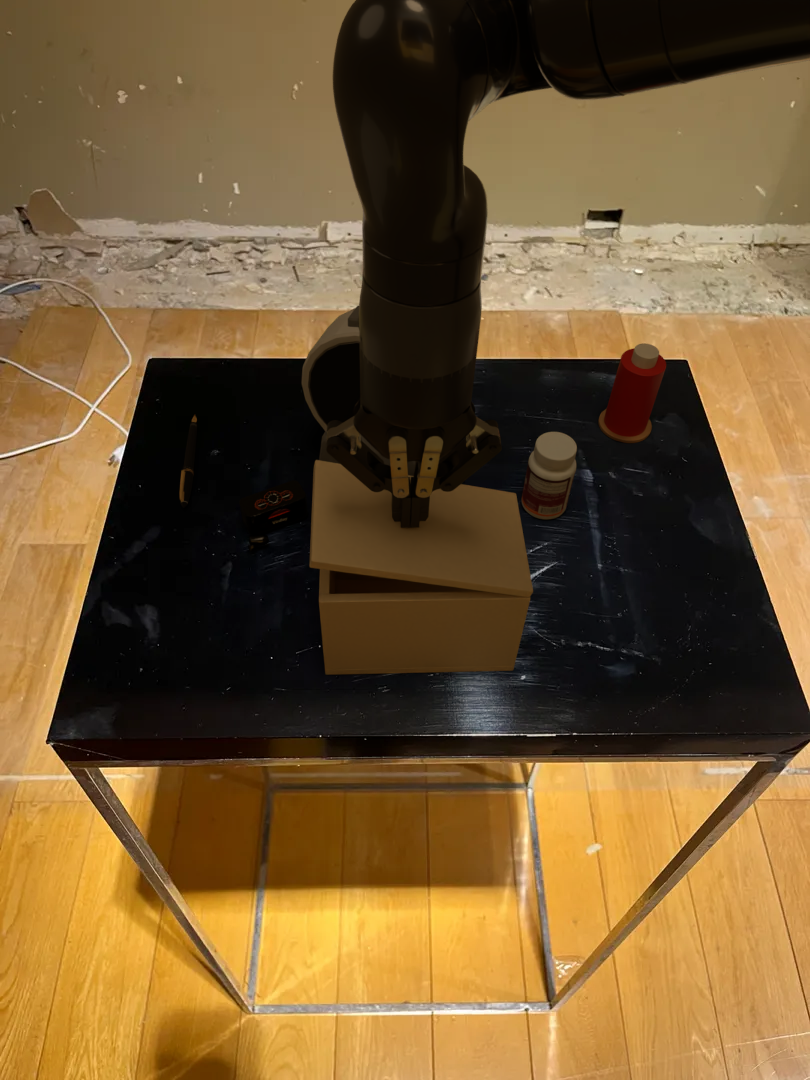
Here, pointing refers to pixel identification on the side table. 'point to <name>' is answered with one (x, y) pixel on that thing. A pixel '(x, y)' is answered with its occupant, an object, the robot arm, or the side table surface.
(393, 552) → the breadbox lid
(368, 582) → the box
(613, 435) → the coaster
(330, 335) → the alarm clock
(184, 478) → the fountain pen
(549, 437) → the pill bottle
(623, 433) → the sauce bottle
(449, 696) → the side table surface
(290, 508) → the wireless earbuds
